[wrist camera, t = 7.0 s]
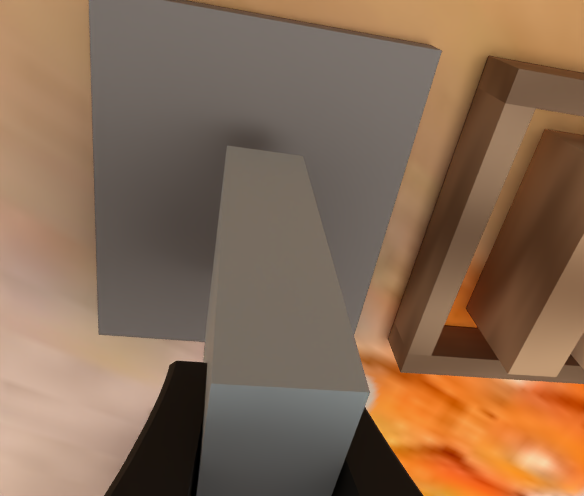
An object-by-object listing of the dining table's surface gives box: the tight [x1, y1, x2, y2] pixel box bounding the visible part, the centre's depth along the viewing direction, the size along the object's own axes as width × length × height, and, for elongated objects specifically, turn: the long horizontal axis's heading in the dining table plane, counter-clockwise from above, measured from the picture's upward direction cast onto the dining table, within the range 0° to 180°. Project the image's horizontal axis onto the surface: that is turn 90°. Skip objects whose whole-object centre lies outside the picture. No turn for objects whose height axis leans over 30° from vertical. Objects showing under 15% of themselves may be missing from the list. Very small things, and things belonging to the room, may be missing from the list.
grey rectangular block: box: [194, 146, 370, 496], centre depth 11 cm, size 6×2×8 cm, turn 170°
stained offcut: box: [466, 129, 584, 377], centre depth 18 cm, size 8×2×4 cm, turn 170°
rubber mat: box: [89, 0, 442, 342], centre depth 17 cm, size 12×10×1 cm
